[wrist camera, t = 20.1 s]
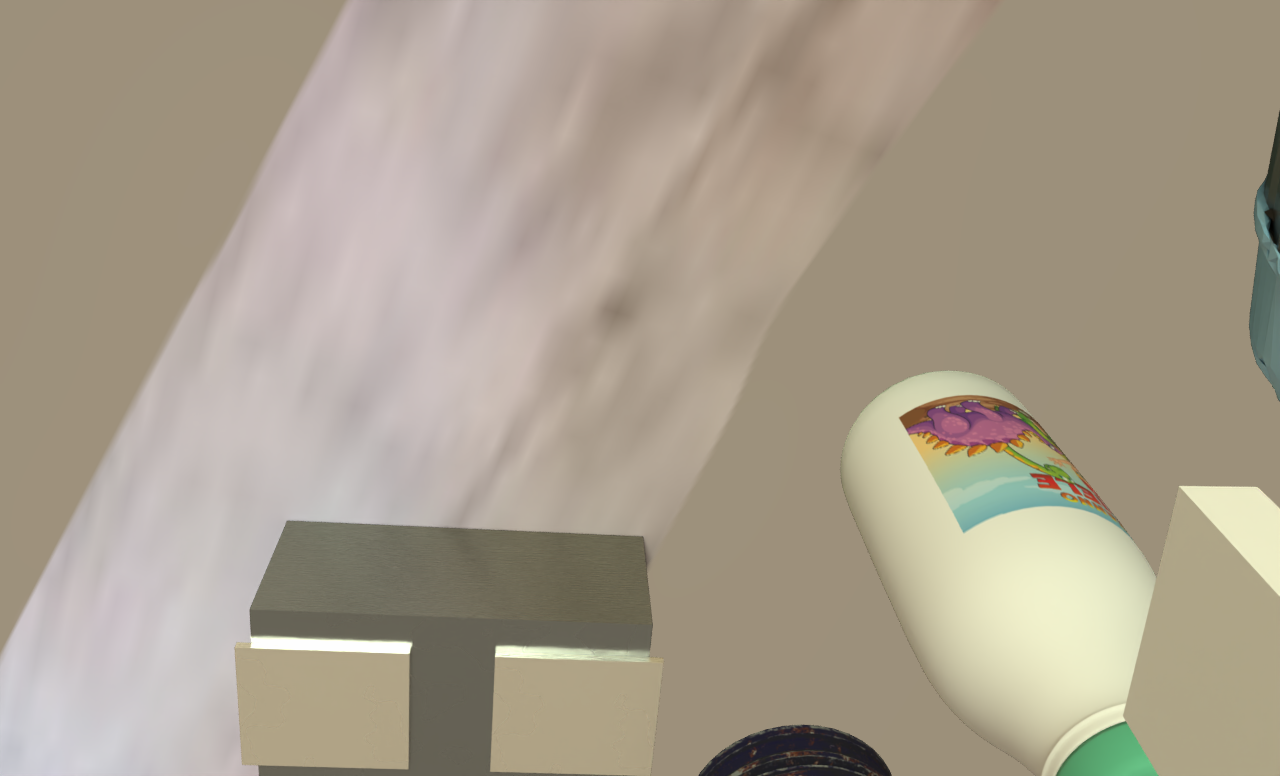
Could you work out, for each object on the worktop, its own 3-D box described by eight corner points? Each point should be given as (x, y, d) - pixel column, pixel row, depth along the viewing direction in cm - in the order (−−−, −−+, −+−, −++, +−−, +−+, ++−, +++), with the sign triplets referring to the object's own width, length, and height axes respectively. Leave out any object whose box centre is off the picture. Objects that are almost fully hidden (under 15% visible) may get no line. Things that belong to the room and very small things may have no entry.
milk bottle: (945, 568, 49) (1168, 989, 31) (797, 480, 47) (941, 875, 29) (1070, 426, 46) (1393, 791, 28) (920, 327, 44) (1163, 652, 26)
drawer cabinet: (655, 537, 47) (667, 630, 42) (637, 705, 51) (646, 812, 45) (273, 520, 46) (232, 613, 40) (282, 693, 50) (244, 802, 44)
